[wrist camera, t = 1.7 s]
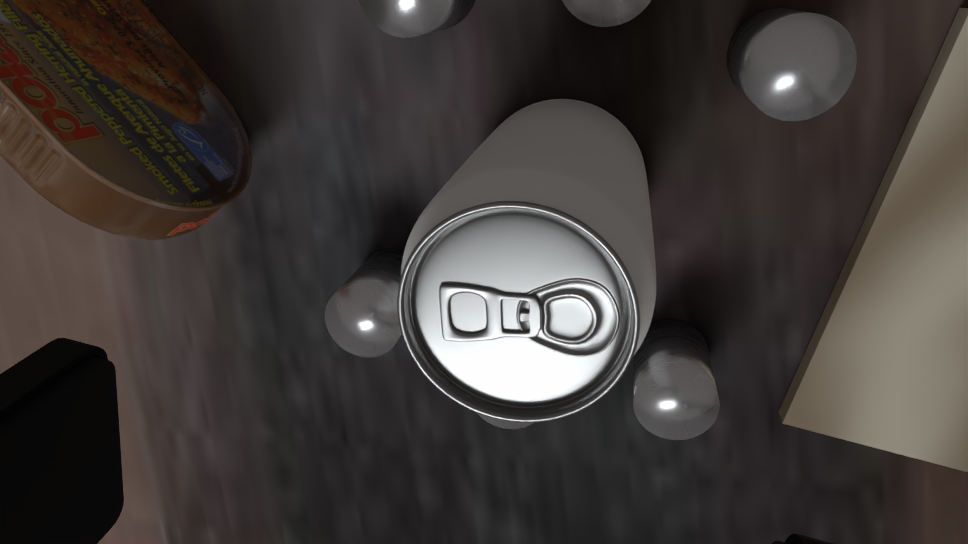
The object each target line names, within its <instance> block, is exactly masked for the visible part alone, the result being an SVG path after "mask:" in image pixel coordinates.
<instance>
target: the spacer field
mask: <svg viewBox="0 0 968 544" xmlns="http://www.w3.org/2000/svg"><path fill="white" fill-rule="evenodd" d="M359 1H360V4H361V6H362V8H363V10H364V12H365V14H366V15H367V17H368V18H369V19H370V21H371V22H372V23H373V24H374V25H375V26H377V27H378V28H379V29H380V30H382V31H384V32H385V33H388V34H390V35H393V36H396V37H415V36H419V35H423V34H427V33H431V32H435V31H439V30H443V29H446V28H450V27H452V26H454V25H456V24H458V23H459V22H461V21H462V20H463V19H464V18H465V17H466V16H467V15H468V13H469V12H470V10H471V8H472V6H473V4H474V1H475V0H359ZM562 1H563V3H564V5H565V6H566V7H567V9H568V10H569V11H570V12H571V13H572V14H573V15H574V16H575V17H576V18H578V19H579V20H581V21H583V22H585V23H587V24H590V25H593V26H599V27H611V26H617V25H620V24H623V23H626V22H628V21H630V20H632V19H633V18H635V17H636V16H637V15H639V14H640V13H641V12H642V11H643V10H644V9H645V8H646V7H647V6H648V4H649V3H650V2H651V0H562ZM856 64H857V55H856V48H855V44H854V42H853V39H852V37H851V36H850V34H849V32H848V31H847V30H846V29H845V28H844V27H843V26H842V25H841V24H840V23H839V22H837V21H836V20H834V19H832V18H830V17H828V16H825V15H821V14H816V13H810V12H804V11H798V10H792V9H785V8H775V9H769V10H765V11H762V12H760V13H758V14H756V15H754V16H752V17H751V18H749V19H748V20H747V21H746V22H745V23H743V24H742V25H741V27H740V28H739V29H738V30H737V31H736V33H735V34H734V36H733V38H732V40H731V42H730V45H729V48H728V52H727V68H728V72H729V75H730V78H731V80H732V81H733V83H734V85H735V86H736V87H737V88H738V89H739V90H740V91H741V92H742V93H743V94H744V95H745V96H746V97H747V98H748V99H749V100H750V101H751V102H752V103H753V104H754V105H755V106H756V107H757V108H759V109H760V110H761V111H762V112H764V113H765V114H767V115H768V116H771V117H773V118H776V119H779V120H784V121H801V120H806V119H810V118H813V117H816V116H818V115H820V114H822V113H824V112H825V111H827V110H829V109H830V108H831V107H832V106H834V105H835V104H836V103H837V102H838V101H839V100H840V99H841V98H842V97H843V95H844V94H845V93H846V91H847V90H848V88H849V87H850V84H851V82H852V80H853V77H854V74H855V70H856ZM403 254H404V251H402V250H399V249H391V248H390V249H383V250H379V251H377V252H375V253H374V254H372V255H371V256H370V257H369V258H368V259H367V260H366V261H365V262H364V263H363V264H362V265H361V266H360V267H359V268H358V270H357V271H356V272H355V273H354V274H353V275H352V276H351V277H350V278H349V279H348V280H347V281H346V282H345V283H344V284H343V285H342V286H341V288H340V289H339V290H338V291H337V292H336V293H335V294H334V295H333V296H332V297H331V298H330V300H329V301H328V303H327V306H326V310H325V322H326V326H327V329H328V331H329V333H330V335H331V337H332V338H333V339H334V341H335V342H336V343H337V344H338V345H339V346H340V347H342V348H343V349H344V350H346V351H348V352H350V353H352V354H354V355H357V356H362V357H376V356H380V355H382V354H385V353H386V352H388V351H389V350H390V349H392V348H393V346H394V345H395V344H396V342H397V341H398V339H399V338H400V336H401V334H402V333H401V329H400V325H399V319H398V310H397V297H398V288H399V283H400V278H401V267H402V259H403ZM633 405H634V412H635V415H636V417H637V419H638V421H639V422H640V423H641V425H642V426H643V427H644V428H645V429H647V430H648V431H649V432H651V433H653V434H654V435H657V436H659V437H662V438H665V439H671V440H684V439H689V438H693V437H696V436H698V435H700V434H702V433H703V432H705V431H706V430H708V429H709V428H710V427H711V426H712V425H713V423H714V422H715V420H716V418H717V416H718V413H719V398H718V394H717V389H716V384H715V380H714V375H713V370H712V366H711V361H710V356H709V352H708V347H707V343H706V340H705V338H704V336H703V335H702V333H701V332H700V331H699V330H698V329H697V328H696V327H694V326H693V325H691V324H689V323H687V322H685V321H682V320H677V319H663V320H659V321H655V322H653V323H651V324H650V327H649V329H648V332H647V334H646V336H645V338H644V340H643V342H642V344H641V346H640V347H639V349H638V350H637V352H636V353H635V355H634V356H633ZM478 415H479V416H480V417H482V418H483V419H484V420H485V421H487V422H489V423H490V424H492V425H495V426H497V427H501V428H506V429H518V428H523V427H526V426H529V425H531V424H533V423H534V422H512V421H505V420H500V419H495V418H492V417H488V416H485V415H482V414H479V413H478Z"/></svg>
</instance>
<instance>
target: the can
mask: <svg viewBox="0 0 968 544" xmlns="http://www.w3.org/2000/svg"><path fill="white" fill-rule="evenodd" d="M655 300H656V266H655V253H654V242H653V231H652V221H651V210H650V201H649V192H648V183H647V176H646V170H645V165H644V161H643V157H642V154H641V151H640V149H639V146H638V144H637V143H636V141H635V139H634V137H633V136H632V135H631V133H630V132H629V131H628V129H627V128H626V127H625V126H624V125H623V124H622V123H621V122H620V121H619V120H618V119H617V118H615V117H614V116H613V115H611V114H610V113H608V112H607V111H605V110H603V109H601V108H599V107H597V106H595V105H592V104H590V103H586V102H583V101H578V100H572V99H552V100H545V101H541V102H537V103H534V104H531V105H529V106H526V107H524V108H522V109H521V110H519V111H517V112H515V113H514V114H512V115H511V116H510V117H508V118H507V119H506V120H505V121H504V122H502V123H501V124H500V125H499V126H498V127H497V128H496V129H495V130H494V131H493V132H492V133H491V135H490V136H489V137H488V138H487V139H486V140H485V141H484V142H483V143H482V144H481V145H480V146H479V147H478V149H477V150H476V151H475V152H474V153H473V154H472V155H471V156H470V157H469V158H468V160H467V161H466V162H465V163H464V164H463V165H462V166H461V167H460V168H459V169H458V171H457V172H456V173H455V174H454V175H453V176H452V177H451V178H450V180H449V181H448V182H447V183H446V184H445V185H444V186H443V187H442V189H441V190H440V191H439V192H438V193H437V194H436V195H435V197H434V198H433V199H432V200H431V201H430V203H429V204H428V205H427V207H426V208H425V209H424V211H423V212H422V213H421V215H420V216H419V218H418V220H417V221H416V223H415V225H414V227H413V229H412V231H411V233H410V236H409V238H408V241H407V243H406V247H405V250H404V254H403V259H402V267H401V278H400V283H399V288H398V297H397V310H398V319H399V325H400V329H401V333H402V336H403V339H404V341H405V344H406V346H407V349H408V351H409V353H410V355H411V356H412V358H413V360H414V361H415V363H416V364H417V366H418V367H419V369H420V370H421V371H422V373H423V374H424V375H425V376H426V377H427V378H428V379H429V381H430V382H431V383H432V384H433V385H434V386H436V387H437V388H438V389H439V390H440V391H441V392H443V393H444V394H445V395H446V396H448V397H449V398H451V399H452V400H454V401H455V402H457V403H459V404H460V405H462V406H464V407H466V408H468V409H470V410H472V411H474V412H477V413H479V414H482V415H485V416H488V417H492V418H495V419H500V420H505V421H512V422H544V421H551V420H556V419H560V418H563V417H567V416H570V415H572V414H575V413H577V412H580V411H582V410H584V409H586V408H588V407H589V406H591V405H593V404H594V403H596V402H597V401H599V400H600V399H601V398H602V397H604V396H605V395H606V394H607V393H608V392H609V391H610V390H611V389H612V388H613V387H614V386H615V385H616V384H617V383H618V382H619V380H620V379H621V378H622V376H623V375H624V373H625V372H626V370H627V368H628V367H629V365H630V363H631V361H632V358H633V356H634V355H635V353H636V352H637V350H638V349H639V347H640V346H641V344H642V342H643V340H644V338H645V336H646V334H647V332H648V329H649V327H650V324H651V320H652V316H653V312H654V306H655Z"/></svg>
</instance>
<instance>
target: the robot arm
mask: <svg viewBox="0 0 968 544" xmlns="http://www.w3.org/2000/svg"><path fill="white" fill-rule="evenodd" d="M123 502H124V496H123V480H122V465H121V449H120V434H119V418H118V403H117V387H116V372H115V366H114V364H113V363H112V362H111V361H108V358H107V354H106V352H105V351H104V350H103V349H102V348H100V347H97V346H93V345H89V344H85V343H82V342H78V341H74V340H70V339H67V338H57V339H55V340H53V341H51V342H49V343H48V344H46V345H45V346H43V347H42V348H40V349H38V350H37V351H35V352H34V353H32V354H31V355H29V356H28V357H26V358H25V359H23V360H21V361H20V362H18V363H17V364H15V365H14V366H12V367H11V368H9V369H8V370H6V371H5V372H3V373H1V374H0V544H97V543H98V542H99V541H100V540H101V539H102V538H103V537H104V535H105V534H106V533H107V532H108V531H109V530H110V529H111V528H112V526H113V525H114V524H115V523H116V521H117V519H118V517H119V516H120V513H121V511H122V507H123ZM772 544H832V543H829V542H825V541H821V540H817V539H814V538H810V537H806V536H803V535H799V534H791V535H790V536H789V537H788V538H787V539H786V541H785V542H781V541H774V542H773V543H772Z"/></svg>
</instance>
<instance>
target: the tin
mask: <svg viewBox="0 0 968 544" xmlns="http://www.w3.org/2000/svg"><path fill="white" fill-rule="evenodd" d="M0 155H1V156H2V157H3V158H4V159H5V161H6V162H7V163H8V164H9V165H10V166H11V167H12V168H13V169H14V170H15V171H16V172H17V173H18V174H19V175H20V176H21V177H22V178H23V179H24V180H25V181H26V182H27V183H28V184H29V185H30V186H31V187H32V188H33V189H34V190H35V191H37V192H38V193H39V194H40V195H41V196H43V197H44V198H45V199H46V200H48V201H49V202H50V203H52V204H53V205H55V206H56V207H58V208H59V209H61V210H62V211H64V212H65V213H67V214H69V215H71V216H73V217H74V218H76V219H78V220H80V221H82V222H84V223H86V224H88V225H90V226H93V227H95V228H98V229H101V230H104V231H107V232H109V233H113V234H116V235H121V236H125V237H130V238H137V239H146V240H158V239H166V238H171V237H175V236H178V235H182V234H185V233H188V232H190V231H192V230H195V229H196V228H198V227H200V226H201V225H203V224H204V223H205V222H206V221H208V220H209V219H210V218H211V217H212V216H213V215H214V214H215V213H216V212H217V211H218V210H219V209H220V208H221V207H222V206H223V205H226V204H228V203H229V202H231V201H233V200H234V199H235V198H236V197H238V196H239V195H240V194H241V192H242V191H243V190H244V188H245V187H246V185H247V183H248V181H249V178H250V174H251V168H252V156H251V149H250V144H249V140H248V137H247V134H246V131H245V129H244V127H243V125H242V123H241V121H240V118H239V117H238V115H237V113H236V112H235V110H234V108H233V107H232V105H231V104H230V103H229V101H228V99H227V98H226V97H225V96H224V94H223V93H222V92H221V91H220V90H219V88H218V87H217V86H216V85H215V84H214V83H213V82H212V80H211V79H210V78H209V77H208V76H207V75H206V74H205V72H204V71H203V70H202V69H201V68H200V67H199V66H198V65H197V64H196V62H195V61H194V60H193V59H192V58H191V57H190V55H189V54H188V53H187V52H186V51H185V50H184V49H183V48H182V46H181V45H180V44H179V43H178V42H177V41H176V40H175V38H174V37H173V36H172V35H171V34H170V33H169V32H168V30H167V29H166V28H165V27H164V26H163V25H162V24H161V23H160V22H159V21H158V19H157V18H156V17H155V16H154V15H153V13H152V12H151V11H150V10H149V9H148V8H147V7H146V6H145V4H144V3H143V2H142V1H141V0H0Z"/></svg>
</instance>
